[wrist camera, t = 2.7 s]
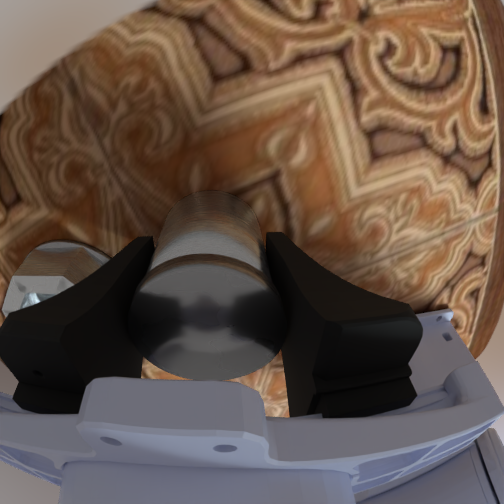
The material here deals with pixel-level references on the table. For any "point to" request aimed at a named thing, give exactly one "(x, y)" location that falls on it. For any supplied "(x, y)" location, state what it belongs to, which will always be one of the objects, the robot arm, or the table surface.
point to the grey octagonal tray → (51, 272)
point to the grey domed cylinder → (208, 293)
